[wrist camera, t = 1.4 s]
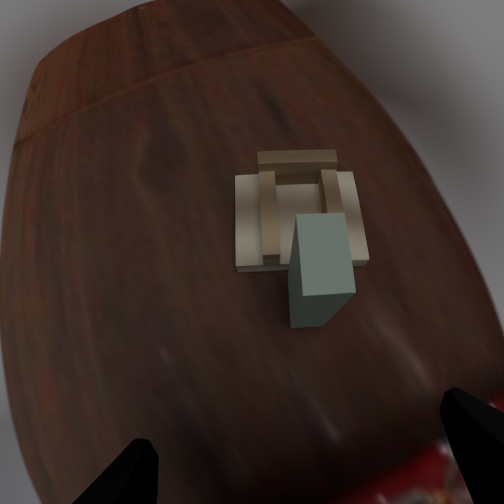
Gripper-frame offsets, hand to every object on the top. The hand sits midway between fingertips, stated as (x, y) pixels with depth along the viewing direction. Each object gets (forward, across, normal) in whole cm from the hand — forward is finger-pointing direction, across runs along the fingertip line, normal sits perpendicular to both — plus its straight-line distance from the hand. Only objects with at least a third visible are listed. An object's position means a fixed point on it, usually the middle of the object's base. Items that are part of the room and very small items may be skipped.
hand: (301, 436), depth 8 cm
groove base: (+20, -3, 0) cm, 20 cm away
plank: (+16, -2, +4) cm, 16 cm away
